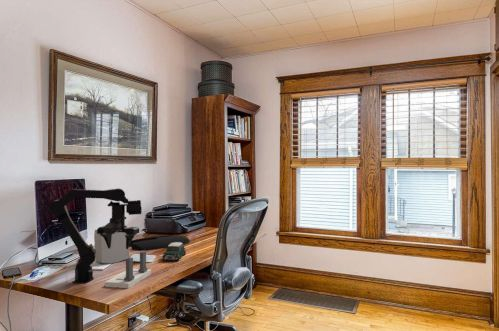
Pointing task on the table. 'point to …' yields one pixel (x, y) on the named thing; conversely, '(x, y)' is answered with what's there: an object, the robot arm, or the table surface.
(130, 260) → the lever
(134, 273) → the breaker panel
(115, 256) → the electrical switch box
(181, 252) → the miniature car
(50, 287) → the table surface
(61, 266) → the table surface
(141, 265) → the on breaker
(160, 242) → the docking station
